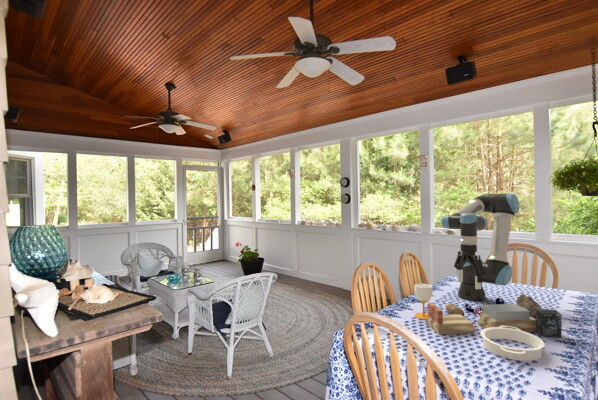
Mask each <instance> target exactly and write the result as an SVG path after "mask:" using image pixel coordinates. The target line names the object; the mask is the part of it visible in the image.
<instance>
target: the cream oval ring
mask: <svg viewBox="0 0 598 400" xmlns="http://www.w3.org/2000/svg"><path fill="white" fill-rule="evenodd" d="M505 327H511V328H505ZM512 328H515V329H512ZM517 329H518V330H517ZM480 336H481V338H482V344H483V348H485V350H487V351H488V352H490V353H492V354H494V355H496V356H498V357H501V358H504V359H505V358H506V359H510V360H515V361H522V362H523V361H525V362H531V361H532V362H533V361H537V360H539V359H541V357H542V356H543V355H542V349H543V348H545V346H546V345H545V341H543V339H542V338H540V337H539V336H537V335H534V334H532V333H530V332H529V331H521V330H520V329H519V328H516V327H512V326H505V325H501V326H499V327H489V328H485V329H484V328H483V329H481V330H480ZM496 339H497V340H498V339H500V340H501V339H502V340H510V341H516V342H519V343H523V344H525V345H528V346H530V347H532V348H518V347H517V348H516V347H512V346H507V345H503V344H500V343H497V342H494V341H492V340H496Z"/></svg>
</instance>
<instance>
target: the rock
mask: <svg viewBox="0 0 598 400" xmlns="http://www.w3.org/2000/svg"><path fill="white" fill-rule="evenodd" d="M516 305H518V306H521V307H523V308H525V309H527V310H529V311H530V317H532V318H533V317H536V309H542V305H540V304H539V303H538V302H537V301H535V300H534V298H533V297H532V296H527V295H525V294H524V293H523V294H520V295H518V296H517V299H516Z"/></svg>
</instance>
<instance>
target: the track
mask: <svg viewBox="0 0 598 400" xmlns="http://www.w3.org/2000/svg"><path fill="white" fill-rule="evenodd" d="M427 314H428V320H427V325H429V327H431V328H432V330H433V331H435V332H436V334H438V335H446V334H447V335H449V334H451V335H452V334H453V335H454V334H455V335H456V334H474V332H476V328H477V327H476V326H474V323H473V322H471V321H470V320H469V319H468V318H466V317H465V316H464V317H463V316H462V315H461V314H450V313H449V314H446V313H445V314H444V311H443V310H442V309H440V308H439V307H438V306H437V305H435V304H434V303H433V302H427ZM477 325H478V326H480V327H481V328H483V329H485V328H489V327H499V326H501V325H505V326H512V327H516V328H519V329H520V330H521V331H525V332H536V318H534V317H533V316H532V317H530V320H500V321H495V320H494V319H492V318H491V317H489V316H487V315H486V314H484V313H483V311H482V312H481V311H480V312H479V320H477ZM505 328H511V327H505ZM512 329H515V328H512ZM517 330H518V329H517Z"/></svg>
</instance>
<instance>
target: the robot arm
mask: <svg viewBox="0 0 598 400" xmlns="http://www.w3.org/2000/svg"><path fill="white" fill-rule="evenodd" d="M519 212H520V201H519V198H518V196H517V194H514V193H485V194H481V195H479V196H475V197H474V198H472V199H471V200H469V201H468V202H467V205H464V206H463V207H462V208H460V209H459V210H457V211H456V212H453V213H452V214H451V215H449V214H447V215H445V214H444V215H443V216H442V217H441V220H440V223H441V226H442V228H444V229H448V230H460V251H457V256H456V259H455V261H454V265H453V267H454V268H456V275H457V277H456V278H457V279H456V280H457V283H460V285H459V287H458V290H457V297H458V298H460V299H463V300H465V301H466V300H468V301H473V302H474V301H476V302H477V301H485V300H486V299H487V295H486V291H485V289H484V287H483V283H485V284H493V285H496V286H507V285H509V283H510V282H511V279H512V276H513V267H512V266H511V265H510V262H509V261H508V259H507V257H508V250H509V249H508V248H509V240H510V232H511V222H512V220H513V218H515V215H516V214H518V213H519ZM482 213H491V215H492V217H493V225H492V226H493V227H492V234H491V243H490V250H489V256H488V257H487V258H486V259H485V261H483V259H482V258H481V254H478V255H476V253H477V252H478V245H477V244H478V231H479V232H480V231H483V230H485V229H486V228H487V226H488V220H487V218H485V217H484V216H481V215H479V214H482Z"/></svg>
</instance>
